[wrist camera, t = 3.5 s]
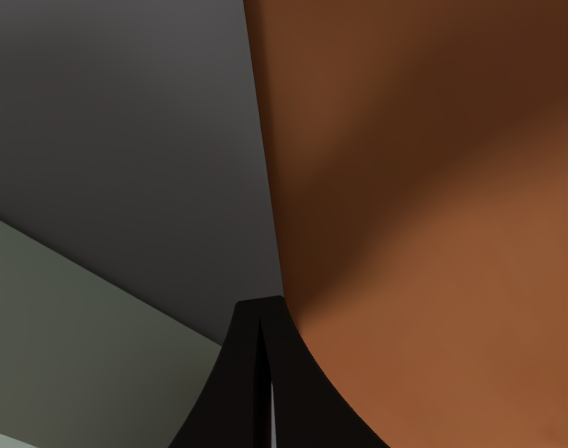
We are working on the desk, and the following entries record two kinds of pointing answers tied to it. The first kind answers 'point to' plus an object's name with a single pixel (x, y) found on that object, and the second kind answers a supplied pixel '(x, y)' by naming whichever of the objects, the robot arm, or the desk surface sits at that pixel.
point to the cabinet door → (88, 357)
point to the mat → (140, 150)
